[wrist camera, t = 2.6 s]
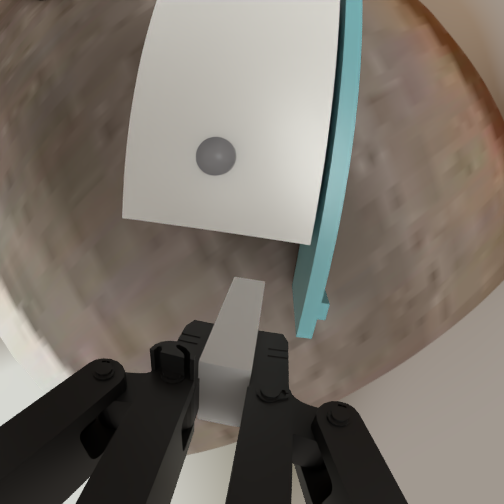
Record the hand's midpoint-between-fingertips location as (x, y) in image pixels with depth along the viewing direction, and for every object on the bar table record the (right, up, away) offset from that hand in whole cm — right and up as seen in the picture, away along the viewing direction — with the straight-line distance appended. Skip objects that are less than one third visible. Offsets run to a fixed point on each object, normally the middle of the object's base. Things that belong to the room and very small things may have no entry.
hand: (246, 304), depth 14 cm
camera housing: (0, +15, +7) cm, 17 cm away
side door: (+6, +11, +7) cm, 15 cm away
